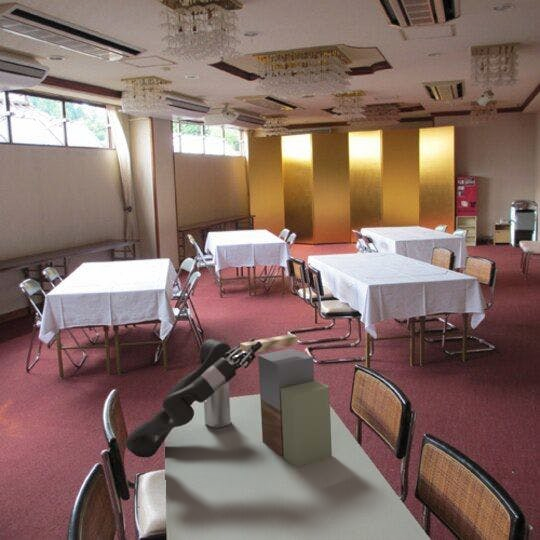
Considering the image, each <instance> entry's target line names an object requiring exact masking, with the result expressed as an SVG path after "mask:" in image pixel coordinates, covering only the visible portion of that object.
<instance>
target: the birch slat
mask: <svg viewBox="0 0 540 540" xmlns="http://www.w3.org/2000/svg"><path fill="white" fill-rule="evenodd" d="M254 340H255V339H254ZM258 341H259V342H260V343H261V344H262V347H261V348H260V349H259V350H257V351H256V352H255V354H256V353H260V352H267V351H272V350H276V349H281V348H287V347H292V346H297V345H299V343H298V335H295V334H293V333H289V334H283V335H278V336H272V337H267V338H262V339H256V340H255V341H250V342H248V341H246V342H240V343H239V345H240V349H241V352H242V351H247V350H248V349H249V348H251V347H252V346H253V345H254V344H255V343H256V342H258ZM247 354H248V353H247Z"/></svg>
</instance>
